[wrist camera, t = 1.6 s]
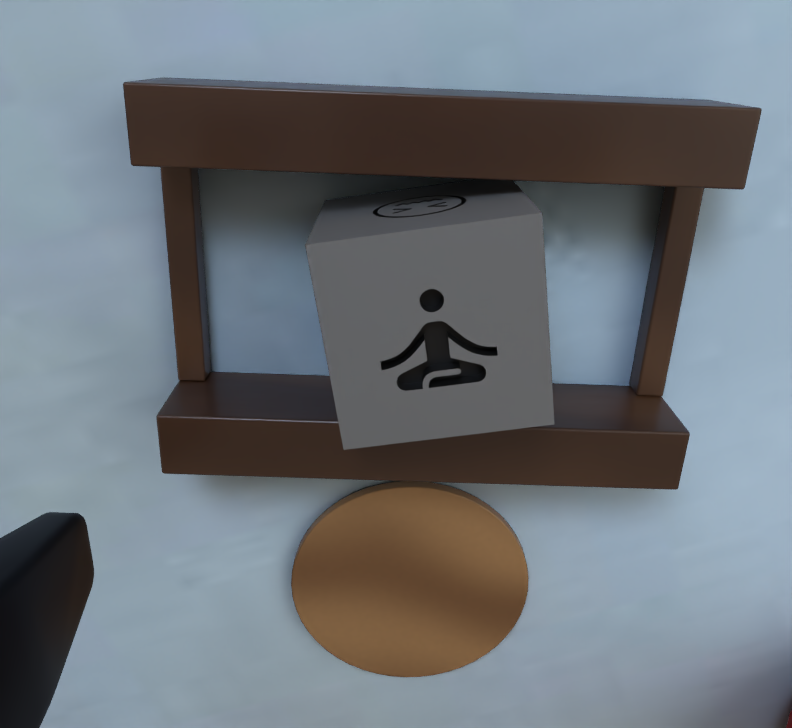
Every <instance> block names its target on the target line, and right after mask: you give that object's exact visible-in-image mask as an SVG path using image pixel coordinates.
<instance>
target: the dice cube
mask: <svg viewBox="0 0 792 728" xmlns="http://www.w3.org/2000/svg"><path fill="white" fill-rule="evenodd" d="M305 247H306V252H307V257H308V263H309V268H310V273H311V279H312V284H313V289H314V295H315V300H316V305H317V311H318V316H319V321H320V327H321V332H322V337H323V343H324V348H325V353H326V359H327V364H328V369H329V375H330V380H331V385H332V391H333V396H334V401H335V407H336V412H337V417H338V423H339V428H340V433H341V439H342V444H343V449H344V450H347V449H355V448H363V447H372V446H380V445H388V444H396V443H405V442H413V441H421V440H430V439H438V438H446V437H454V436H463V435H471V434H479V433H488V432H496V431H504V430H512V429H521V428H529V427H537V426H546V425H554V407H553V389H552V372H551V355H550V338H549V321H548V303H547V286H546V269H545V252H544V234H543V217H542V212H541V211H540V210H539V209H538V207H537V206H536V205H535V204H534V203H533V202H532V201H531V200H530V199H529V198H528V196H527V195H526V194H525V193H524V192H523V191H522V190H521V189H520V188H519V187H518V185H517V184H516V183H515V182H514V181H511V180H485V179H475V180H468V181H461V182H453V183H446V184H439V185H432V186H424V187H417V188H410V189H403V190H395V191H388V192H381V193H374V194H366V195H359V196H352V197H345V198H338V199H330V200H325V202H324V204H323V207H322V209H321V211H320V213H319V215H318V218H317V220H316V222H315V224H314V226H313V229H312V231H311V233H310V235H309V237H308V240H307V242H306V244H305Z"/></svg>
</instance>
